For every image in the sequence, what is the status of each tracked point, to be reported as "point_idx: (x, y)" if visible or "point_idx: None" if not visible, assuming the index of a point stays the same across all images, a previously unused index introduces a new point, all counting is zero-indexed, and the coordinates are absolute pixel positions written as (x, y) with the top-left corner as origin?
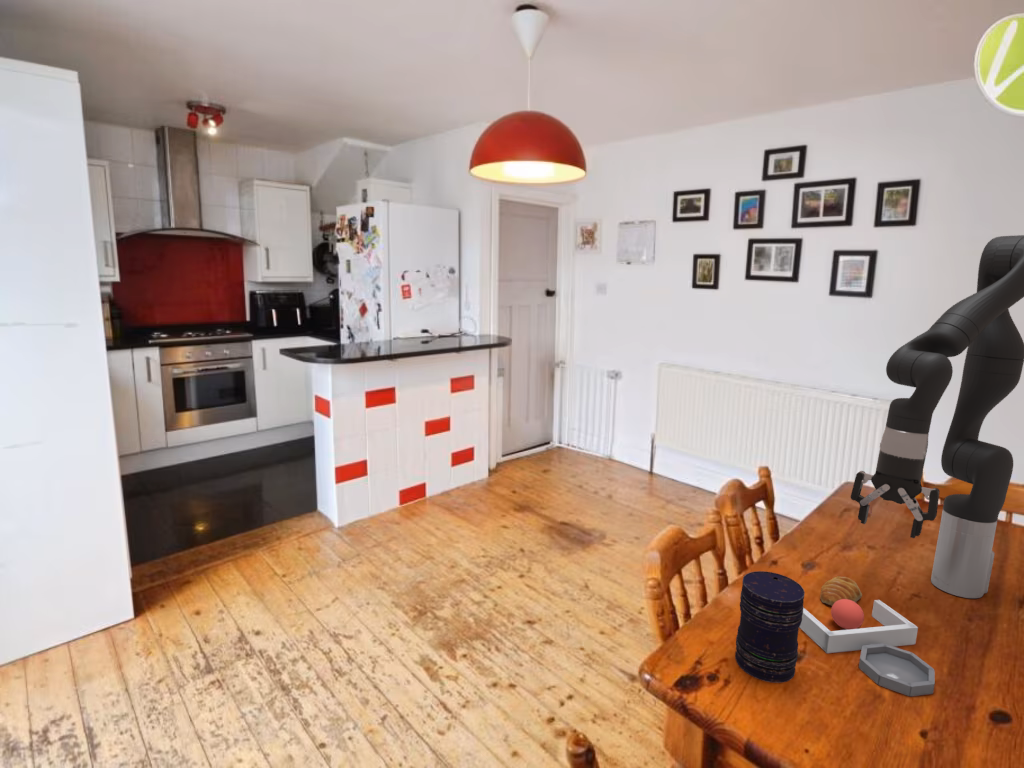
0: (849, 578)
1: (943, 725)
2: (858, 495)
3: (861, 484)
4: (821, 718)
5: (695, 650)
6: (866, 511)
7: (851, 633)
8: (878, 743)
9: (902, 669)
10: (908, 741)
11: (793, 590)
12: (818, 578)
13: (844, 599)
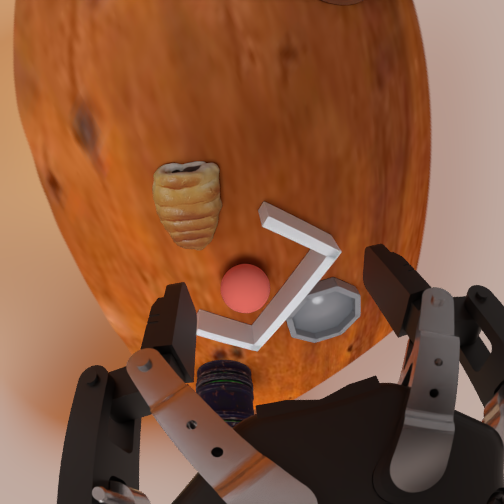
0: (184, 176)
1: (363, 332)
2: (129, 415)
3: (125, 479)
4: (287, 382)
5: None
6: (193, 363)
7: (273, 332)
8: (324, 372)
9: (328, 305)
10: (341, 360)
11: None
12: (125, 161)
13: (237, 302)
